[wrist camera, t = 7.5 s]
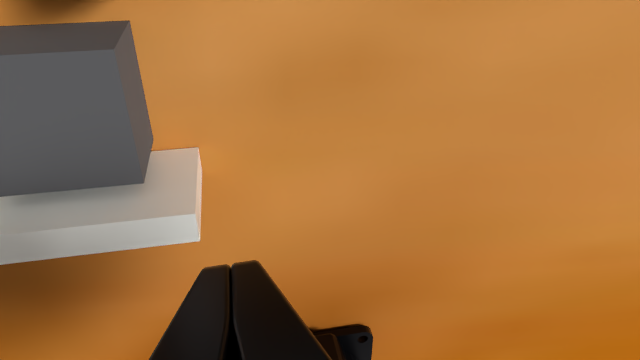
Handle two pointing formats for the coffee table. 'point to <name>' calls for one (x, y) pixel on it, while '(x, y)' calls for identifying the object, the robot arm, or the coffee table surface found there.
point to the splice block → (71, 108)
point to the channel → (107, 214)
